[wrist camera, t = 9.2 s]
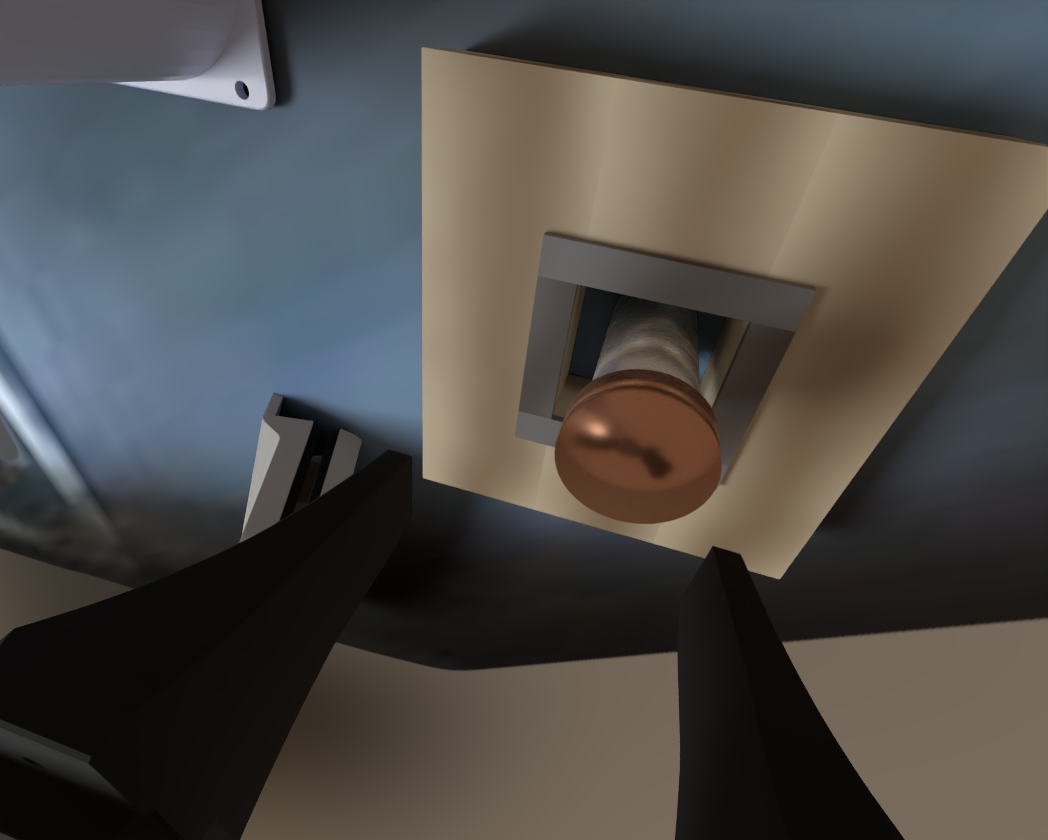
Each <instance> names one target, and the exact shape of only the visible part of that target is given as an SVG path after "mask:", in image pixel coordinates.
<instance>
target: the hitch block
mask: <svg viewBox="0 0 1048 840" xmlns="http://www.w3.org/2000/svg"><path fill="white" fill-rule="evenodd" d="M1047 209H1048V145H1047V144H1043V143H1038V142H1034V141H1029V140H1024V139H1020V138H1015V137H1009V136H1003V135H997V134H990V133H984V132H978V131H971V130H965V129H959V128H953V127H946V126H940V125H934V124H927V123H921V122H915V121H908V120H902V119H896V118H889V117H883V116H877V115H870V114H864V113H858V112H852V111H845V110H839V109H833V108H826V107H820V106H814V105H807V104H801V103H795V102H788V101H782V100H776V99H769V98H763V97H757V96H751V95H744V94H738V93H732V92H725V91H719V90H713V89H706V88H700V87H694V86H687V85H681V84H675V83H668V82H662V81H656V80H650V79H643V78H637V77H631V76H624V75H618V74H612V73H605V72H599V71H593V70H586V69H580V68H574V67H568V66H561V65H555V64H549V63H542V62H536V61H530V60H523V59H517V58H511V57H504V56H498V55H492V54H485V53H479V52H473V51H467V50H456V49H442V48H428V47H422V356H423V478H425V479H428V480H432V481H435V482H439V483H442V484H446V485H449V486H453V487H456V488H460V489H463V490H467V491H470V492H474V493H477V494H481V495H484V496H488V497H491V498H495V499H498V500H502V501H506V502H509V503H513V504H516V505H520V506H523V507H527V508H530V509H534V510H537V511H541V512H544V513H548V514H551V515H555V516H558V517H562V518H565V519H569V520H572V521H576V522H579V523H583V524H587V525H590V526H594V527H597V528H601V529H604V530H608V531H611V532H615V533H618V534H622V535H625V536H629V537H632V538H636V539H639V540H643V541H646V542H650V543H653V544H657V545H660V546H664V547H668V548H671V549H675V550H678V551H682V552H685V553H689V554H692V555H696V556H699V557H703V558H706V556H707V554H708V553H709V551H710V549H711V548H712V546H716V547H719V548H722V549H726V550H729V551H732V552H736V553H739V554H741V556H742V558H743V560H744V562H745V564H746V567H747V569H748V570H749V571H752V572H756V573H759V574H763V575H766V576H770V577H773V578H777V579H780V578H781V577H782V575H783V574H784V573H785V571H786V570H787V568H788V567H789V566H790V564H791V563H792V562H793V560H794V559H795V557H796V556H797V555H798V553H799V552H800V550H801V549H802V548H803V546H804V545H805V544H806V542H807V541H808V539H809V538H810V537H811V535H812V534H813V533H814V531H815V530H816V528H817V527H818V526H819V524H820V523H821V521H822V520H823V519H824V517H825V516H826V515H827V513H828V512H829V510H830V509H831V508H832V506H833V505H834V504H835V502H836V501H837V499H838V498H839V497H840V495H841V494H842V492H843V491H844V490H845V488H846V487H847V486H848V484H849V483H850V481H851V480H852V479H853V477H854V476H855V475H856V473H857V472H858V470H859V469H860V468H861V466H862V465H863V463H864V462H865V461H866V459H867V458H868V457H869V455H870V454H871V452H872V451H873V450H874V448H875V447H876V446H877V444H878V443H879V441H880V440H881V439H882V437H883V436H884V435H885V433H886V432H887V430H888V429H889V428H890V426H891V425H892V423H893V422H894V421H895V419H896V418H897V417H898V415H899V414H900V412H901V411H902V410H903V408H904V407H905V406H906V404H907V403H908V401H909V400H910V399H911V397H912V396H913V394H914V393H915V392H916V390H917V389H918V388H919V386H920V385H921V383H922V382H923V381H924V379H925V378H926V377H927V375H928V374H929V372H930V371H931V370H932V368H933V367H934V365H935V364H936V363H937V361H938V360H939V359H940V357H941V356H942V354H943V353H944V352H945V350H946V349H947V348H948V346H949V345H950V343H951V342H952V341H953V339H954V338H955V336H956V335H957V334H958V332H959V331H960V330H961V328H962V327H963V325H964V324H965V323H966V321H967V320H968V319H969V317H970V316H971V314H972V313H973V312H974V310H975V309H976V307H977V306H978V305H979V303H980V302H981V301H982V299H983V298H984V296H985V295H986V294H987V292H988V291H989V290H990V288H991V287H992V285H993V284H994V283H995V281H996V280H997V278H998V277H999V276H1000V274H1001V273H1002V272H1003V270H1004V269H1005V267H1006V266H1007V265H1008V263H1009V262H1010V261H1011V259H1012V258H1013V256H1014V255H1015V254H1016V252H1017V251H1018V249H1019V248H1020V247H1021V245H1022V244H1023V243H1024V241H1025V240H1026V238H1027V237H1028V236H1029V234H1030V233H1031V232H1032V230H1033V229H1034V227H1035V226H1036V225H1037V223H1038V222H1039V220H1040V219H1041V218H1042V216H1043V215H1044V214H1045V212H1046V211H1047ZM586 286H587V287H592V288H596V289H601V290H605V291H610V292H614V293H619V294H624V295H628V296H633V297H637V298H642V299H646V300H651V301H656V302H660V303H665V304H669V305H674V306H679V307H683V308H688V309H692V310H697V311H701V312H706V313H711V314H715V315H720V316H724V317H727V318H726V321H725V323H724V326H723V328H722V331H721V333H720V336H719V338H718V341H717V343H716V346H715V348H714V351H713V353H712V355H711V358H710V360H709V363H708V365H707V368H706V370H705V373H704V375H703V378H702V380H701V383H700V394H701V395H702V396H703V397H704V398H705V399H706V400H707V402H708V403H709V404H710V406H711V408H712V409H713V411H714V413H715V416H716V419H717V422H718V428H719V437H720V449H721V461H722V468H721V476H720V480H719V483H718V485H717V488H716V489H715V491H714V493H713V494H712V496H711V497H710V498H709V499H708V500H707V501H706V502H705V503H704V504H703V505H702V506H701V507H700V508H698V509H697V510H695V511H693V512H692V513H690V514H688V515H686V516H684V517H681V518H679V519H676V520H672V521H668V522H664V523H656V524H635V523H628V522H622V521H618V520H614V519H611V518H608V517H605V516H603V515H601V514H599V513H596V512H595V511H593V510H591V509H589V508H588V507H586V506H585V505H583V504H582V503H581V502H579V501H578V500H577V499H576V498H575V497H574V496H573V495H572V494H571V493H570V492H569V491H568V490H567V488H566V487H565V485H564V484H563V482H562V480H561V479H560V477H559V474H558V472H557V469H556V464H555V456H554V451H555V444H556V441H557V438H558V435H559V432H560V429H561V426H562V423H563V420H564V417H565V415H566V412H567V409H568V407H569V405H570V403H571V401H572V399H573V398H574V397H575V395H576V394H577V393H578V392H579V391H580V390H581V389H582V388H583V387H584V386H586V385H587V384H588V383H589V382H591V381H592V379H588V378H584V377H580V376H576V375H571V374H568V372H569V368H570V363H571V358H572V353H573V348H574V343H575V339H576V334H577V329H578V324H579V319H580V314H581V310H582V305H583V300H584V295H585V290H586Z"/></svg>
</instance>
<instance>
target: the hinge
mask: <svg viewBox="0 0 1048 840" xmlns="http://www.w3.org/2000/svg"><path fill="white" fill-rule="evenodd" d="M282 400H283V396H280V395H278V394H275V393H273V396H272V398H271V400H270V402H269V404H268V406H267V408H266V410H265V413H264V415H263V419H262V425H261V430H260V436H259V442H258V447H257V453H256V459H255V464H254V470H253V475H252V481H251V487H250V492H249V498H248V504H247V509H246V515H245V521H244V526H243V532H242V537H241V540H240V542H242V541H244V540H246V539H248V538H250V537H252V536H254V535H256V534H257V533H259V532H261V531H263V530H265V529H267V528H268V527H270V526H272V525H274V524H275V523H277V522H279V521H280V520H282V519H284V518H285V517H287V516H289V515H291V514H292V513H294V512H296V511H297V510H299V509H301V508H302V507H304V506H306V505H307V504H309V503H310V502H312V501H313V500H315V499H317V498H318V497H320V496H321V495H323V494H324V493H326V492H327V491H329V490H330V489H332V488H333V487H335V486H336V485H338V484H339V483H341V482H342V481H344V480H345V479H347V478H348V477H350V476H351V475H352V474H353V473H354V469H355V465H356V461H357V458H358V454H359V450H360V446H361V442H362V440H361V439H360V438H358V437H357V436H356V435H354V434H352V433H350V432H348V431H345V430H343V429H340V431H339V434H338V436H335V435H332V434H329V437H328V440H327V443H326V447H325V450H324V453H323V454H322V455H316V456H313V453H314V450H315V447H316V443H317V440H318V437H319V434H320V431H316V430H313V429H312V426H313V422H314V421H308V420H302V419H295V418H288V417H282V416H279V414H280V410H281V405H282ZM240 542H239V543H240Z"/></svg>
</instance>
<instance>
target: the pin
mask: <svg viewBox="0 0 1048 840" xmlns="http://www.w3.org/2000/svg"><path fill="white" fill-rule="evenodd" d="M554 456H555V464H556V469H557V472H558V474H559V477H560V479H561V480H562V482H563V484H564V485H565V487H566V488H567V490H568V491H569V492H570V493H571V494H572V495H573V496H574V497H575V498H576V499H577V500H578V501H579V502H581V503H582V504H583V505H585V506H586V507H588V508H589V509H591V510H593V511H595V512H596V513H599V514H601V515H603V516H605V517H608V518H611V519H614V520H618V521H622V522H628V523H635V524H656V523H664V522H668V521H672V520H676V519H679V518H681V517H684V516H686V515H688V514H690V513H692V512H693V511H695V510H697V509H698V508H700V507H701V506H702V505H703V504H704V503H705V502H706V501H707V500H708V499H709V498H710V497H711V496H712V494H713V493H714V491H715V489H716V488H717V485H718V483H719V480H720V476H721V468H722V461H721V449H720V437H719V428H718V422H717V419H716V416H715V413H714V411H713V409H712V408H711V406H710V404H709V403H708V402H707V400H706V399H705V398H704V397H703V396H702V395H701V394H700V383H699V355H698V326H697V312H696V310H692V309H688V308H683V307H679V306H674V305H669V304H665V303H660V302H656V301H651V300H646V299H642V298H637V297H633V296H628V295H624V294H623V295H622V297H621V298H620V299H619V300H618V302H617V303H616V305H615V308H614V310H613V314H612V317H611V320H610V324H609V327H608V330H607V333H606V337H605V340H604V343H603V347H602V350H601V353H600V357H599V360H598V363H597V367H596V370H595V373H594V376H593V380H592V381H591V382H589V383H588V384H587V385H586V386H584V387H583V388H582V389H581V390H580V391H579V392H578V393H577V394H576V395H575V397H574V398H573V399H572V401H571V403H570V405H569V407H568V409H567V412H566V415H565V417H564V420H563V423H562V426H561V429H560V432H559V435H558V438H557V441H556V444H555V451H554Z"/></svg>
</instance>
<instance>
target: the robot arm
mask: <svg viewBox="0 0 1048 840" xmlns="http://www.w3.org/2000/svg"><path fill="white" fill-rule="evenodd" d="M77 83H116V84H121V85H126V86H132V87H137V88H143V89H148V90H153V91H159V92H164V93H169V94H175V95H180V96H185V97H191V98H196V99H202V100H207V101H212V102H218V103H223V104H228V105H234V106H239V107H244V108H250V109H255V110H268V109H271V108H272V107H273V106H274V104H275V102H276V94H275V88H274V81H273V74H272V68H271V61H270V55H269V48H268V42H267V35H266V29H265V22H264V16H263V9H262V2H261V0H0V86H8V85H43V84H77ZM244 83H245V84H246V86H247V87H248V90H249V97H247V95H246V94H245V92H244V89H243V84H244ZM411 514H412V456H409V455H405V454H402V453H399V452H395V451H392V450H387V451H385V452H384V453H382V454H381V455H379V456H378V457H377V458H375V459H374V460H372V461H371V462H370V463H368V464H367V465H365V466H364V467H362V468H361V469H360V470H358V471H357V472H355V473H354V474H352V475H351V476H350V477H348V478H347V479H345V480H344V481H342V482H341V483H339V484H338V485H336V486H335V487H333V488H332V489H330V490H329V491H327V492H326V493H324V494H323V495H321V496H320V497H318V498H317V499H315V500H313V501H312V502H310V503H309V504H307V505H306V506H304V507H302V508H301V509H299V510H297V511H296V512H294V513H292V514H291V515H289V516H287V517H285V518H284V519H282V520H280V521H279V522H277V523H275V524H274V525H272V526H270V527H268V528H267V529H265V530H263V531H261V532H259V533H257V534H256V535H254V536H252V537H250V538H248V539H246V540H244V541H242V542H240V543H238V544H236V545H234V546H232V547H230V548H228V549H226V550H224V551H222V552H220V553H218V554H216V555H214V556H211V557H209V558H207V559H205V560H203V561H201V562H198V563H196V564H194V565H192V566H189V567H187V568H185V569H183V570H180V571H178V572H176V573H173V574H171V575H169V576H166V577H164V578H161V579H159V580H156V581H153V582H151V583H148V584H146V585H143V586H140V587H138V588H135V589H133V590H130V591H127V592H125V593H122V594H120V595H117V596H114V597H111V598H108V599H106V600H103V601H100V602H97V603H94V604H91V605H88V606H85V607H82V608H79V609H76V610H72V611H69V612H66V613H63V614H60V615H57V616H53V617H50V618H47V619H44V620H41V621H37V622H35V623H31V624H28V625H24V626H21V627H18V628H15V629H13V630H12V631H11V632H10V633H8V634H7V635H6V636H5V637H3V638H2V639H1V640H0V840H240V838H241V836H242V834H243V831H244V829H245V827H246V824H247V822H248V820H249V818H250V816H251V814H252V811H253V809H254V807H255V805H256V802H257V800H258V798H259V796H260V793H261V791H262V789H263V787H264V784H265V782H266V780H267V778H268V776H269V774H270V771H271V769H272V767H273V765H274V763H275V761H276V759H277V757H278V755H279V753H280V750H281V748H282V746H283V744H284V742H285V740H286V738H287V736H288V734H289V732H290V729H291V727H292V725H293V723H294V721H295V719H296V717H297V715H298V713H299V711H300V709H301V707H302V705H303V703H304V701H305V699H306V697H307V695H308V693H309V691H310V689H311V687H312V685H313V684H314V682H315V680H316V678H317V676H318V674H319V672H320V670H321V668H322V666H323V664H324V662H325V660H326V659H327V657H328V655H329V653H330V651H331V649H332V647H333V645H334V644H335V642H336V640H337V639H338V637H339V635H340V634H341V632H342V630H343V629H344V627H345V626H346V624H347V622H348V621H349V619H350V618H351V616H352V615H353V613H354V612H355V610H356V609H357V607H358V605H359V604H360V602H361V601H362V599H363V598H364V596H365V595H366V593H367V592H368V590H369V588H370V587H371V585H372V584H373V582H374V581H375V579H376V578H377V576H378V575H379V573H380V571H381V570H382V568H383V567H384V565H385V564H386V562H387V560H388V559H389V557H390V556H391V554H392V553H393V551H394V549H395V547H396V545H397V543H398V541H399V539H400V537H401V535H402V533H403V531H404V529H405V527H406V525H407V523H408V520H409V518H410V516H411ZM677 646H678V684H679V685H678V688H679V722H680V776H679V792H678V808H677V821H676V834H675V840H904V838H903V837H902V835H901V834H900V832H899V831H898V830H897V828H896V827H895V826H894V824H893V823H892V821H891V820H890V819H889V817H888V816H887V815H886V813H885V812H884V810H883V809H882V808H881V806H880V805H879V803H878V802H877V801H876V799H875V798H874V796H873V795H872V794H871V792H870V791H869V790H868V788H867V786H866V785H865V783H864V782H863V781H862V779H861V778H860V776H859V775H858V773H857V772H856V770H855V769H854V767H853V766H852V764H851V763H850V761H849V759H848V758H847V756H846V755H845V753H844V752H843V750H842V749H841V747H840V745H839V744H838V742H837V741H836V739H835V737H834V736H833V734H832V733H831V731H830V729H829V728H828V726H827V724H826V723H825V721H824V719H823V718H822V716H821V714H820V712H819V711H818V709H817V707H816V706H815V704H814V702H813V700H812V698H811V697H810V695H809V693H808V691H807V690H806V688H805V686H804V684H803V683H802V681H801V679H800V677H799V675H798V673H797V671H796V669H795V667H794V665H793V664H792V662H791V660H790V658H789V656H788V654H787V652H786V650H785V648H784V646H783V644H782V642H781V640H780V638H779V636H778V634H777V632H776V630H775V628H774V626H773V624H772V622H771V619H770V617H769V615H768V613H767V611H766V609H765V607H764V604H763V602H762V600H761V598H760V596H759V593H758V591H757V589H756V587H755V585H754V582H753V580H752V578H751V576H750V573H749V571H748V569H747V567H746V564H745V562H744V560H743V558H742V556H741V554H739V553H736V552H732V551H729V550H726V549H722V548H719V547H716V546H712V548H711V549H710V551H709V553H708V554H707V556H706V558H705V559H704V561H703V563H702V564H701V566H700V568H699V569H698V571H697V573H696V574H695V576H694V578H693V580H692V581H691V583H690V585H689V586H688V588H687V590H686V591H685V593H684V595H683V596H682V599H681V608H680V618H679V629H678V641H677Z"/></svg>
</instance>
